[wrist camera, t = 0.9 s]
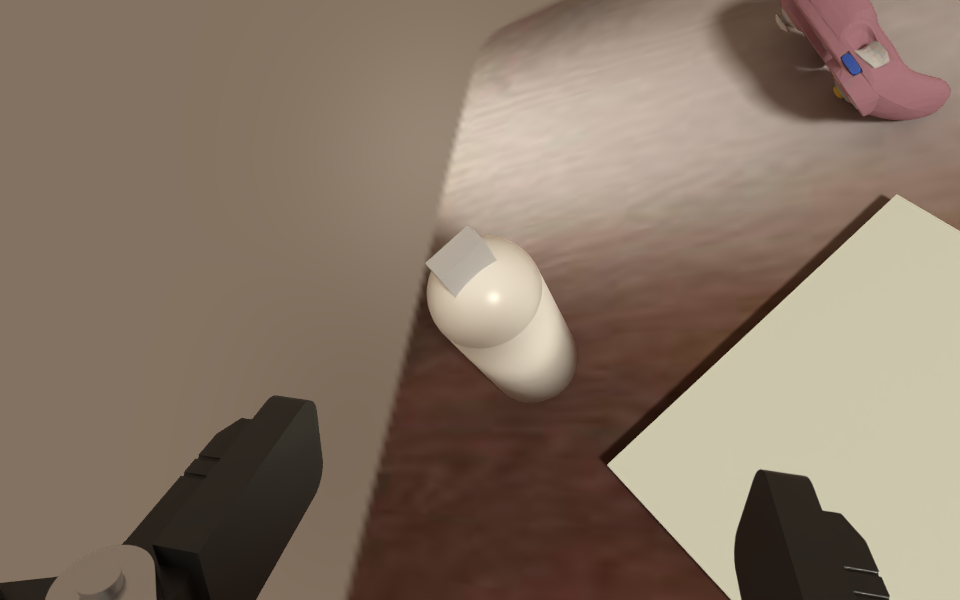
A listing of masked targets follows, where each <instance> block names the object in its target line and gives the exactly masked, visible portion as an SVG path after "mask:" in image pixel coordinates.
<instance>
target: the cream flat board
mask: <svg viewBox="0 0 960 600" xmlns="http://www.w3.org/2000/svg"><path fill="white" fill-rule="evenodd" d="M607 466H608V467H609V468H610V469H611V470H612V471H613V472H614V473H615V475H616V476H617V477H618V478H619V479H620V480H621V481H622V482H623V483H624V484H625V485H626V486H627V488H628V489H629V490H630V491H631V492H632V493H633V494H634V495H635V496H636V497H637V498H638V499H639V501H640V502H641V503H642V504H643V505H644V506H645V507H646V508H647V509H648V510H649V511H650V512H651V514H652V515H653V516H654V517H655V518H656V519H657V520H658V521H659V522H660V523H661V524H662V525H663V527H664V528H665V529H666V530H667V531H668V532H669V533H670V534H671V535H672V536H673V537H674V539H675V540H676V541H677V542H678V543H679V544H680V545H681V546H682V547H683V548H684V549H685V550H686V552H687V553H688V554H689V555H690V556H691V557H692V558H693V559H694V560H695V561H696V562H697V563H698V565H699V566H700V567H701V568H702V569H703V570H704V571H705V572H706V573H707V574H708V575H709V576H710V578H711V579H712V580H713V581H714V582H715V583H716V584H717V585H718V586H719V587H720V588H721V589H722V591H723V592H724V593H725V594H726V595H727V596H728V597H729V598H730V599H731V600H741V596H740V591H739V586H738V581H737V576H736V571H735V563H734V544H735V536H736V531H737V528H738V525H739V522H740V519H741V516H742V513H743V509H744V506H745V503H746V500H747V497H748V494H749V491H750V488H751V485H752V482H753V479H754V476H755V474H756V472H757V471H758V470H759V469H762V470H769V471H776V472H782V473H789V474H796V475H803V476H807V477H808V478H809V479H810V480H811V482H812V484H813V487H814V489H815V492H816V495H817V497H818V500H819V503H820V505H821V508H822V510H823V511H829V512H836V513H841V514H842V515H843V516H844V517H845V518H846V519H847V521H848V522H849V523H850V524H851V525H852V526H853V527H854V528H855V529H856V531H857V532H858V533H859V534H860V535H861V536H862V537H863V538H864V540H865V541H866V543H867V545H868V547H869V549H870V552H871V554H872V556H873V559H874V561H875V563H876V565H877V568H878V570H879V572H878V574H879V577H882V579H883V581H884V584H885V586H886V588H887V591H888V593H889V595H890V597H889V600H960V231H959V230H957V229H955V228H954V227H952V226H950V225H948V224H947V223H945V222H943V221H942V220H940V219H938V218H936V217H935V216H933V215H931V214H930V213H928V212H926V211H924V210H923V209H921V208H919V207H918V206H916V205H914V204H912V203H911V202H909V201H907V200H906V199H904V198H902V197H900V196H899V195H897V194H896V195H895V196H894V197H893V198H892V199H891V200H890V201H889V202H888V203H887V204H886V205H885V206H884V207H882V208H881V209H880V210H879V211H878V212H877V213H876V214H875V215H874V216H873V217H872V218H871V219H870V220H869V221H867V222H866V223H865V224H864V225H863V226H862V227H861V228H860V229H859V230H858V231H857V232H856V233H855V234H854V235H852V236H851V237H850V238H849V239H848V240H847V241H846V242H845V243H844V244H843V245H842V246H841V247H840V248H839V249H838V250H836V251H835V252H834V253H833V254H832V255H831V256H830V257H829V258H828V259H827V260H826V261H825V262H824V263H823V264H821V265H820V266H819V267H818V268H817V269H816V270H815V271H814V272H813V273H812V274H811V275H810V276H809V277H808V278H806V279H805V280H804V281H803V282H802V283H801V284H800V285H799V286H798V287H797V288H796V289H795V290H794V291H793V292H791V293H790V294H789V295H788V296H787V297H786V298H785V299H784V300H783V301H782V302H781V303H780V304H779V305H778V306H777V307H775V308H774V309H773V310H772V311H771V312H770V313H769V314H768V315H767V316H766V317H765V318H764V319H763V320H762V321H760V322H759V323H758V324H757V325H756V326H755V327H754V328H753V329H752V330H751V331H750V332H749V333H748V334H747V335H745V336H744V337H743V338H742V339H741V340H740V341H739V342H738V343H737V344H736V345H735V346H734V347H733V348H732V349H730V350H729V351H728V352H727V353H726V354H725V355H724V356H723V357H722V358H721V359H720V360H719V361H718V362H717V363H716V364H714V365H713V366H712V367H711V368H710V369H709V370H708V371H707V372H706V373H705V374H704V375H703V376H702V377H701V378H699V379H698V380H697V381H696V382H695V383H694V384H693V385H692V386H691V387H690V388H689V389H688V390H687V391H686V392H684V393H683V394H682V395H681V396H680V397H679V398H678V399H677V400H676V401H675V402H674V403H673V404H672V405H671V406H669V407H668V408H667V409H666V410H665V411H664V412H663V413H662V414H661V415H660V416H659V417H658V418H657V419H656V420H654V421H653V422H652V423H651V424H650V425H649V426H648V427H647V428H646V429H645V430H644V431H643V432H642V433H641V434H640V435H638V436H637V437H636V438H635V439H634V440H633V441H632V442H631V443H630V444H629V445H628V446H627V447H626V448H625V449H623V450H622V451H621V452H620V453H619V454H618V455H617V456H616V457H615V458H614V459H613V460H612V461H611V462H610V463H608V464H607Z"/></svg>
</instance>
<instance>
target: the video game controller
mask: <svg viewBox="0 0 960 600" xmlns="http://www.w3.org/2000/svg"><path fill="white" fill-rule="evenodd" d="M780 4H781V7H782V10H781V13H782V17H781V18H780V17H779V16H778V14H776V15H775V16H776V23H777V24H778V26H779V27H780V28H781V30H784V31H786V32H789V30H788V28H787V27H786V25H788V26H791V27H793V28H796V29H797V30H799V31H802V32H803V33H804V34H805V36H806V37H807V39H808V40H809V42H810V43H811V45H812V46H813V47H814V49H815V50H816V52H817V53H818V55H819V56H820V57H821V59H822V60H823V62H824V63H825V64H826V66H828V68H829V69H830V71H831V73H832V76H833V77H834V81H835V82H834V84H835V85H836V86H835V87H834V92H835V94H836V95H837V97H839V98H843V97H844V98H845V100H846V101H847V102H850V103H851V104H853V105H854V106H855V108H856V109H857V110H858V111H859V112H860V114H861V115H862V116H866V115H871V116H875V117H879V118H884V119H889V120H911V119H917V118H921V117H925V116H928V115H930V114H932V113H934V112H936V111H937V110H938V109H939V108H941V107H942V106H943V105H944V103H945V102H946V101H947V100H948V98H949V96H950V92H951V89H950V87H949V85H948V84H947V83H946V82H945V81H943V80H942V79H940V78H936V77H932V76H928V75H923V74H920V73H917V72H915V71H913V70H911V69H910V68H908V67H907V66H906V65H905V64H904V63H903V61H902V60H901V58H900V56H899V54H898V53H897V51H896V49H895V48H894V46H893V44H892V43H891V41H890V40H889V39H888V37H887V36H886V35H885V33H884V32H883V31H882V29H881V28H880V26H879V24H878V20H877V15H876V12H875V10H874V7H873V5H872V3H871V2H870V1H869V0H780Z"/></svg>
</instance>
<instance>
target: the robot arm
mask: <svg viewBox="0 0 960 600" xmlns="http://www.w3.org/2000/svg"><path fill="white" fill-rule="evenodd" d="M322 469H323V459H322V451H321V444H320V434H319V426H318V417H317V410H316V406H315V404H314V402H313V401H309V400H303V399H296V398H289V397H283V396H272V397H270V398H269V399H268V400H267V401H266V403H265V404H264V405H263V407H262V408H261V409H260V410H259V412H258V413H257V414H256V415H255V416H254V418H253V419H252V420H251V419H245V418H241V419H239V420H238V421H236V422H235V423H233V424H232V425H230V426H228V427H227V428H225V429H224V430H222V431H221V432H219V433H217V434H216V435H215V436H214V438H213V439H212V440H211V441H210V442H209V443H208V445H207V446H206V447H205V448H204V449H203V451H202V452H201V453H200V454H199V458H198V459H195V460H194V461H193V462H192V463H191V465H190V466H189V467H188V468H187V469H186V470H185V472H184V476H180V478H179V479H178V480H177V481H176V482H175V483H174V485H173V486H172V487H171V488H170V489H169V490H168V492H167V493H166V494H165V495H164V496H163V497H162V499H161V500H160V501H159V502H158V503H157V505H156V506H155V507H154V508H153V509H152V511H151V512H150V513H149V514H148V515H147V516H146V518H145V519H144V520H143V521H142V522H141V523H140V525H139V526H138V527H137V528H136V530H135V531H134V532H133V533H132V534H131V535H130V536H129V537H128V539H127V540H126V541H125V542H124V543H123V544H122V545H116V546H110V547H106V548H102V549H99V550H96V551H94V552H92V553H90V554H88V555H86V556H84V557H82V558H80V559H79V560H77V561H76V562H74V563H73V564H71V565H70V566H69V567H67V568H66V569H65V570H64V571H63V572H62V573H61V574H60V575H59V576H58V577H52V578H44V579H34V580H24V581H15V582H7V583H0V600H256V599H257V597H258V595H259V593H260V591H261V589H262V588H263V586H264V584H265V582H266V581H267V579H268V577H269V576H270V574H271V572H272V570H273V569H274V567H275V565H276V563H277V561H278V560H279V558H280V556H281V554H282V553H283V551H284V549H285V547H286V546H287V544H288V542H289V540H290V539H291V537H292V535H293V533H294V531H295V530H296V528H297V526H298V524H299V523H300V521H301V519H302V517H303V515H304V514H305V512H306V510H307V509H308V507H309V505H310V503H311V501H312V500H313V498H314V496H315V494H316V492H317V489H318V487H319V484H320V480H321V476H322ZM734 563H735V571H736V576H737V581H738V586H739V591H740V596H741V600H889V597H890V595H889V593H888V591H887V588H886V586H885V584H884V581H883V579H882V577H879V574H878V572H879V570H878V568H877V565H876V563H875V561H874V559H873V556H872V554H871V552H870V549H869V547H868V545H867V543H866V541H865V540H864V538H863V537H862V536H861V535H860V534H859V533H858V532H857V531H856V529H855V528H854V527H853V526H852V525H851V524H850V523H849V522H848V521H847V519H846V518H845V517H844V516H843V515H842V514H841V513H836V512H829V511H823V510H822V508H821V505H820V503H819V500H818V497H817V495H816V492H815V489H814V487H813V484H812V482H811V480H810V479H809V478H808V477H807V476H803V475H796V474H789V473H782V472H776V471H769V470H762V469H759V470H758V471H757V472H756V474H755V476H754V479H753V482H752V485H751V488H750V491H749V494H748V497H747V500H746V503H745V506H744V509H743V513H742V516H741V519H740V522H739V525H738V528H737V531H736V536H735V544H734Z"/></svg>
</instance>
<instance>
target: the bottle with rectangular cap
mask: <svg viewBox="0 0 960 600" xmlns="http://www.w3.org/2000/svg"><path fill="white" fill-rule="evenodd" d="M425 264H426V265H427V266H428V267H429V269H430V270H431V273H430V276H429V280H428V285H427V302H428V308H429V311H430V314H431V316H432V319H433V321H434V322H435V324H436V326H437V327H438V328H439V330H440V331H441V332H442V333H443V334H444V335H445V336H446V337H447V338H448V339H449V340H450V341H451V342H452V343H453V344H454V345H455V346H456V347H457V348H458V349H459V350H460V351H461V352H462V353H463V354H464V355H465V356H466V357H467V358H468V359H469V360H470V361H471V362H472V363H473V364H474V365H476V366H477V367H478V368H479V369H480V370H481V371H482V372H483V373H484V374H485V375H486V376H487V377H488V378H489V379H490V380H491V381H492V382H493V383H494V384H495V385H496V386H497V387H498V388H499V389H500V390H501V391H502V392H503V393H504V394H506V395H507V396H508V397H510V398H512V399H514V400H517V401H520V402H525V403H537V402H542V401H546V400H549V399H551V398H553V397H555V396H556V395H558V394H559V393H560V392H562V391H563V390H564V389H565V388H566V387H567V386H568V384H569V383H570V382H571V380H572V378H573V376H574V374H575V372H576V368H577V364H578V350H577V346H576V343H575V340H574V338H573V336H572V334H571V332H570V330H569V328H568V326H567V325H566V323H565V321H564V319H563V317H562V315H561V313H560V311H559V309H558V307H557V305H556V303H555V301H554V299H553V297H552V295H551V293H550V291H549V289H548V287H547V285H546V283H545V281H544V280H543V278H542V276H541V274H540V272H539V270H538V268H537V266H536V264H535V263H534V261H533V260H532V258H531V257H530V256H529V255H528V253H527V252H526V251H524V250H523V249H522V248H521V247H520V246H518V245H517V244H515V243H513V242H512V241H509V240H507V239H505V238H502V237H498V236H490V235H478V234H477V233H476V232H475V231H474V230H473V229H472V228H471V227H470V226H469V225H467V226H466V227H465V228H464V229H463V230H462V231H460V232H459V233H458V234H457V235H456V236H455V237H454V238H453V239H452V240H450V241H449V242H448V243H447V244H446V245H445V246H444V247H443V248H442V249H440V250H439V251H438V252H437V253H436V254H435V255H434V256H433V257H432V258H430V259H429V260H428V261H427V262H426V263H425Z"/></svg>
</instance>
